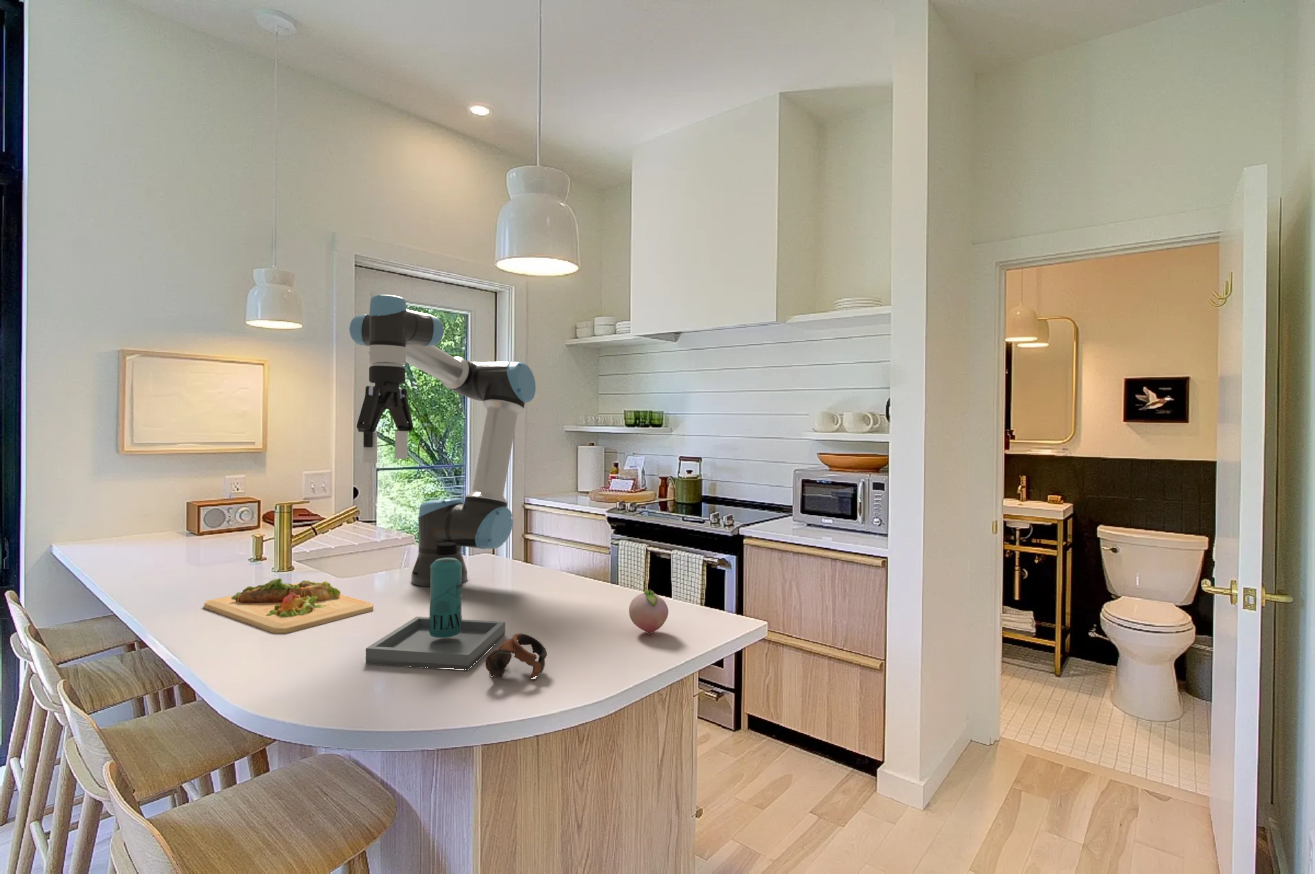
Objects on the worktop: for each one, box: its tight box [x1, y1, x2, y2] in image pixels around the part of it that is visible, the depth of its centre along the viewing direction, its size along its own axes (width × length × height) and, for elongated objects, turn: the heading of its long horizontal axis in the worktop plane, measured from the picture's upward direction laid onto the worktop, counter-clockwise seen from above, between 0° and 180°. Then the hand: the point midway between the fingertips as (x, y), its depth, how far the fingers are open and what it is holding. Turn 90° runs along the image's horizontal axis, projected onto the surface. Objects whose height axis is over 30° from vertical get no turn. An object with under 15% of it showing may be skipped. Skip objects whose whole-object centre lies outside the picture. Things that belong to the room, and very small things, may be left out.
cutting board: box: [204, 577, 374, 634], centre depth 156 cm, size 35×23×8 cm
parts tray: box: [365, 616, 506, 670], centre depth 131 cm, size 20×20×3 cm
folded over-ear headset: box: [484, 633, 548, 679], centre depth 118 cm, size 12×10×8 cm
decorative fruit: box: [628, 588, 669, 634], centre depth 144 cm, size 9×8×10 cm
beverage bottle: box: [428, 542, 463, 638], centre depth 133 cm, size 6×7×20 cm
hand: (386, 460), depth 146 cm, fingers open, 13 cm apart
